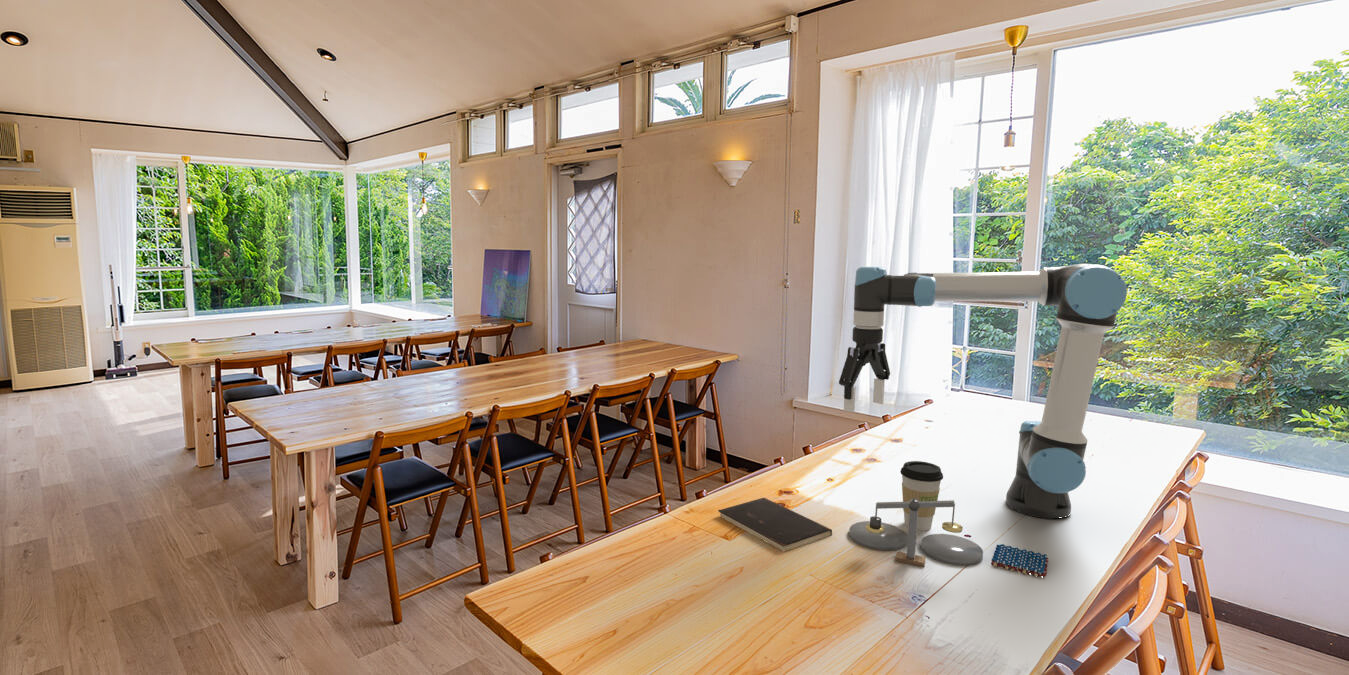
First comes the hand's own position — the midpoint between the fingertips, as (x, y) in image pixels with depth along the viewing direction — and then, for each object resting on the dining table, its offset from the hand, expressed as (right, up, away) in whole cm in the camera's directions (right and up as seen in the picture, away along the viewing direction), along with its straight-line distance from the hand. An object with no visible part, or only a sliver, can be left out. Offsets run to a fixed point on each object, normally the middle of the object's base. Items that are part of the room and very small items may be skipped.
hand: (863, 407), depth 177 cm
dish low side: (-2, -29, -18) cm, 34 cm away
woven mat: (+26, -32, -29) cm, 50 cm away
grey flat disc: (+13, -30, -25) cm, 41 cm away
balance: (+2, -31, -30) cm, 43 cm away
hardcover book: (-26, -28, -13) cm, 40 cm away
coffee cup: (+10, -28, -11) cm, 32 cm away
